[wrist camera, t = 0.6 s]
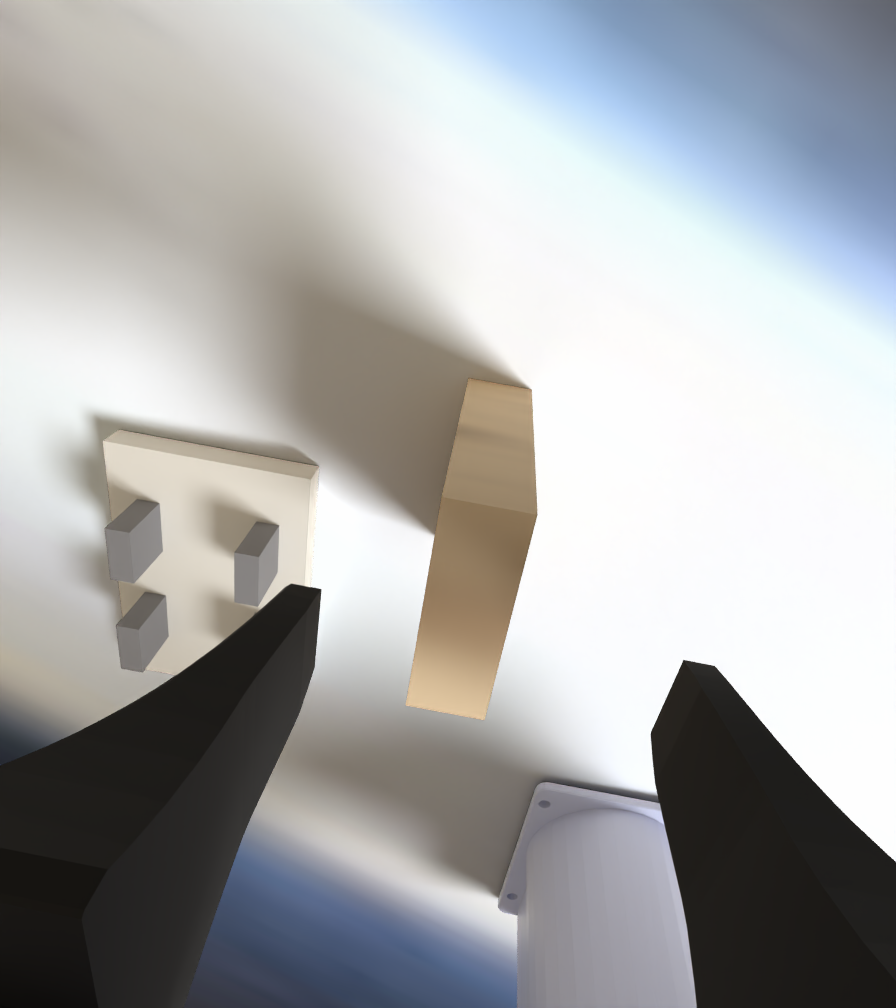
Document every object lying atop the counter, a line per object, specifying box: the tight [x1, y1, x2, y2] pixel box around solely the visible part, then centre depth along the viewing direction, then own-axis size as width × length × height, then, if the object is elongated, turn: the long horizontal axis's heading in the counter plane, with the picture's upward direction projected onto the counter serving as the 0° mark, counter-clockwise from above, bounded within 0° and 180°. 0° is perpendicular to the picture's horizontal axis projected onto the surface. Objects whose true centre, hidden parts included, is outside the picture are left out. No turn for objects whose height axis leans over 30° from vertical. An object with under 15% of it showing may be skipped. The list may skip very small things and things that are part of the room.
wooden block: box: [406, 378, 537, 720], centre depth 18 cm, size 6×2×8 cm, turn 171°
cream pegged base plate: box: [103, 430, 319, 675], centre depth 24 cm, size 10×7×3 cm
